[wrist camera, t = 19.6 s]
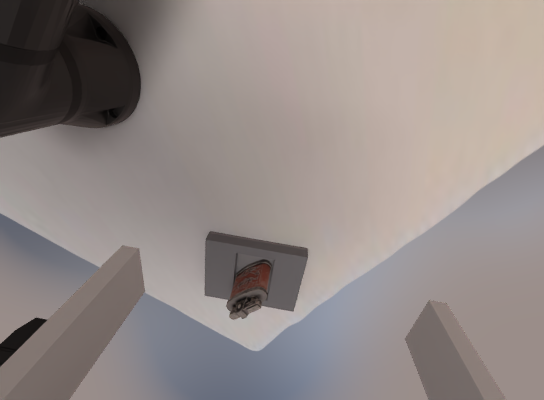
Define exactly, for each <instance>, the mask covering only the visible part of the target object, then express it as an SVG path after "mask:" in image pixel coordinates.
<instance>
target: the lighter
mask: <svg viewBox="0 0 544 400" xmlns="http://www.w3.org/2000/svg"><path fill="white" fill-rule="evenodd" d="M271 267H272V264H271V262H270V261H269V260H267V259H262V260H258V261H255V262H253V263H250V264H248V265H247V266H245V267H243V268H242V269H241V270H239V271H238V272H237V273H236V276H235V279H236V280H235V283H234V286H233V289H232V293H231V296H230V299H229V300H228V302H227V306H226V307H227V309H228V310H229V311H231V312H230V315H229V317H230V318H231V319H233V320H235V319H237V318H239V317H241V318H242V319H244V318H246V317H247V316H248V314H249V313H251V312H254V311H256V310H258V309H260V308H261V305H262V302H263V301H265V300H266V299H267V295H268V292H267V287H268V281H269V274H270V271H271Z"/></svg>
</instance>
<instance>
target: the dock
mask: <svg viewBox="0 0 544 400" xmlns="http://www.w3.org/2000/svg"><path fill="white" fill-rule="evenodd" d="M262 259H267V260H269V261H270V262H271V264H272V267H271V271H270V274H269V281H268V287H267V292H268V295H267V299H266V300H265V301H263V302H262V305H261V306H266V307H271V308H277V309H282V310H288V311H294V307H295V304H296V300H297V296H298V292H299V289H300V285H301V281H302V277H303V274H304V270H305V266H306V262H307V259H308V250H307V248H302V247H296V246H290V245H285V244H279V243H273V242H267V241H262V240H256V239H250V238H245V237H239V236H233V235H228V234H222V233H216V232H210V233H209V235H208V236H207V238H206V252H205V296H211V297H216V298H222V299H227V300H229V299H230V296H231V293H232V289H233V286H234V283H235V280H236V279H235V276H236V273H237V272H238V271H239V270H241V269H242V268H243V267H245V266H247V265H248V264H250V263H253V262H255V261H258V260H262Z"/></svg>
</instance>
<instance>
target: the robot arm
mask: <svg viewBox="0 0 544 400" xmlns="http://www.w3.org/2000/svg"><path fill="white" fill-rule="evenodd" d="M78 2H79V0H0V138H1V137H5V136H10V135H14V134H18V133H22V132H27V131H31V130H35V129H40V128H44V127H48V126H52V125H56V124H66V125H73V126H80V127H87V128H102V127H107V126H111V125H114V124H117V123H120V122H122V121H123V120H125V119H126V118H127V117H129V116H130V115H131V113H132V112H133V111H134V109H135V107H136V105H137V103H138V99H139V95H140V74H139V69H138V65H137V62H136V59H135V57H134V54H133V52H132V50H131V48H130V46H129V44H128V43H127V41H126V39H125V38H124V36H123V35H122V34H121V32H120V31H119V30H118V29H117V28H116V27H115V26H114V25H113V24H112V23H111V22H110V21H109V20H108V19H107V18H106V17H104V16H103V15H102V14H100V13H99V12H97V11H95V10H93V9H91V8H89V7H87V6H84V5H81V4H78ZM144 292H145V288H144V281H143V274H142V266H141V259H140V252H139V248H133V247H128V246H122V247H121V248H120V249H119V250H118V251H117V252H116V253H115V254H114V255H113V256H112V257H111V258H110V259H109V260H108V261H107V262H106V263H105V264H104V265H102V266H101V267H100V268H99V269H98V270H97V272H96V273H94V274H93V275H92V276H91V277H90V278H89V279H88V280H87V281H86V282H85V283H84V284H83V285H82V287H80V288H79V290H77V291H76V292H75V293H74V294H73V296H71V297H70V298H69V299H68V300H67V301H66V302H65V303H64V304H63V305H62V306H61V307H60V308H59V309H58V310H57V311H56V312H55V313H54V314H53V315H52V316H51V317H50V318H49V319H48V320H45V319H40V318H35V319H33V320H31V321H30V322H28V323H27V324H25V325H23V326H22V327H20V328H18V329H17V330H15V331H14V332H13V333H12V334H11V335H10V336H9V337H8V338H7V339H5V340H4V341H3V342H2V343H1V344H0V400H69V399H70V398H71V396H72V395H73V393H74V392H75V391H76V389H77V388H78V386H79V385H80V383H81V382H82V381H83V379H84V378H85V376H86V375H87V373H88V372H89V371H90V369H91V368H92V366H93V365H94V363H95V362H96V361H97V359H98V358H99V356H100V355H101V353H102V352H103V351H104V349H105V348H106V346H107V345H108V343H109V342H110V340H111V339H112V338H113V336H114V335H115V333H116V332H117V330H118V329H119V328H120V326H121V325H122V323H123V322H124V321H125V319H126V318H127V316H128V315H129V313H130V312H131V311H132V309H133V308H134V306H135V305H136V303H137V302H138V300H139V299H140V297H141V296H142V295H143V293H144ZM405 340H406V343H407V345H408V348H409V350H410V353H411V355H412V358H413V361H414V363H415V366H416V368H417V371H418V374H419V376H420V379H421V381H422V384H423V387H424V389H425V392H426V394H427V397H428V399H429V400H506V398H505V396H504V395H503V394H502V392H501V390H500V388H499V387H498V385H497V384H496V382H495V380H494V379H493V377H492V376H491V374H490V372H489V371H488V369H487V368H486V366H485V365H484V363H483V361H482V360H481V358H480V356H479V355H478V353H477V351H476V350H475V348H474V347H473V345H472V343H471V342H470V340H469V339H468V337H467V335H466V334H465V332H464V331H463V329H462V327H461V326H460V324H459V322H458V321H457V319H456V318H455V316H454V314H453V313H452V311H451V310H450V308H449V306H448V305H447V303H442V302H436V301H430V300H429V301H428V303H427V304H426V306H425V308H424V309H423V311H422V312H421V314H420V316H419V317H418V319H417V320H416V322H415V324H414V325H413V327H412V329H411V330H410V332H409V333H408V335H407V336H406V338H405Z"/></svg>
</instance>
